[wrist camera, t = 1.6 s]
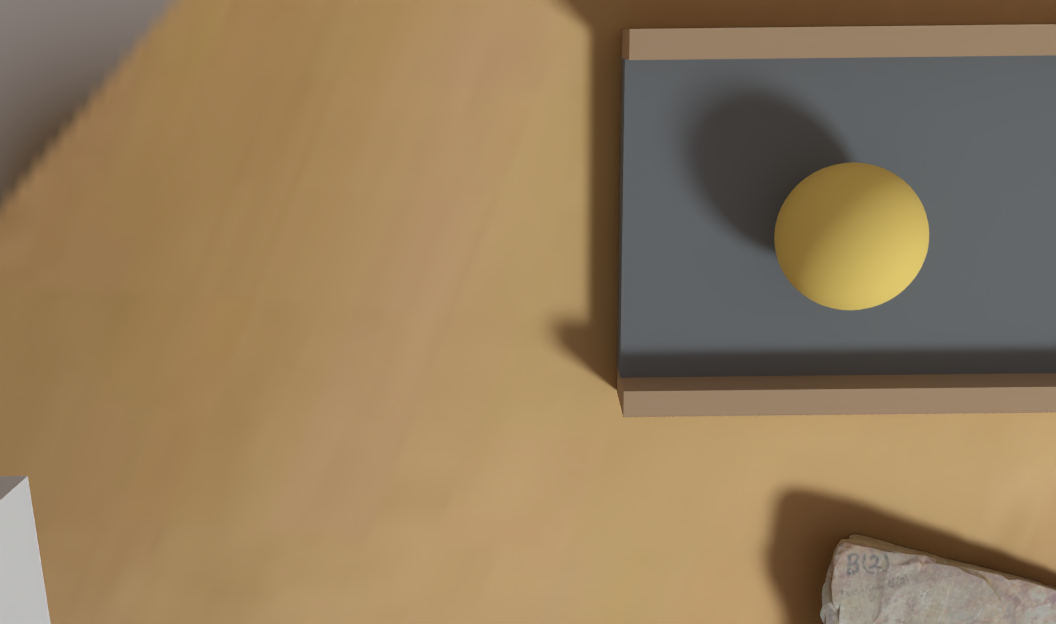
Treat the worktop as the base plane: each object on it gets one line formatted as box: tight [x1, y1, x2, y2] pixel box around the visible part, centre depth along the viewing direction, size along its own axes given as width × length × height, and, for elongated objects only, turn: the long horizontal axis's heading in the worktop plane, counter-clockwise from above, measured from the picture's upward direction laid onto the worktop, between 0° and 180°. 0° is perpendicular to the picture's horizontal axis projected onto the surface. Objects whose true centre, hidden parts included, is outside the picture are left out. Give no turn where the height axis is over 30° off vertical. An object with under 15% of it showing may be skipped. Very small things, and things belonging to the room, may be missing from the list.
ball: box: [774, 162, 929, 310], centre depth 27 cm, size 4×4×4 cm
